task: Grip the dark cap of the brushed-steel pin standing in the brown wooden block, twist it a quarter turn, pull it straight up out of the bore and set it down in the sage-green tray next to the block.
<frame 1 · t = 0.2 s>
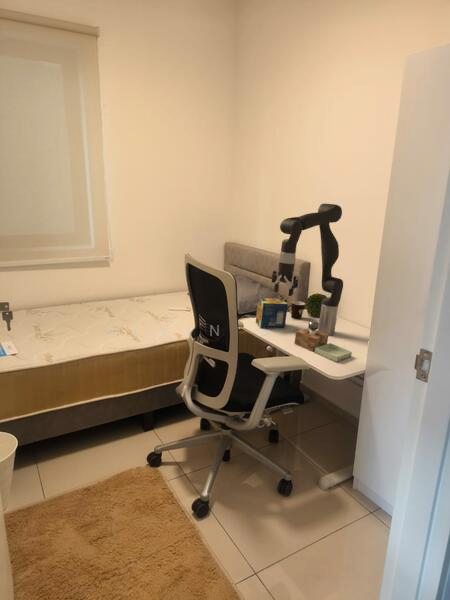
hand: (283, 293, 191), 29 cm above the table, fingers open, 8 cm apart
brown wooden block: (310, 345, 206), on the table
protein box: (269, 325, 232), on the table
sage tray: (332, 354, 196), on the table
coffee mug: (293, 317, 251), on the table
steel pin: (312, 334, 204), in the brown wooden block
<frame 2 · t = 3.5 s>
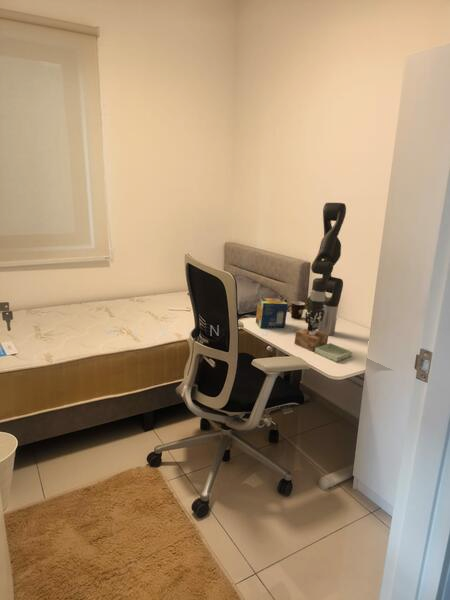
hand: (312, 329, 204), 9 cm above the table, fingers closed on steel pin, 5 cm apart
steel pin: (312, 334, 204), in the brown wooden block, touching gripper
everything else where it was.
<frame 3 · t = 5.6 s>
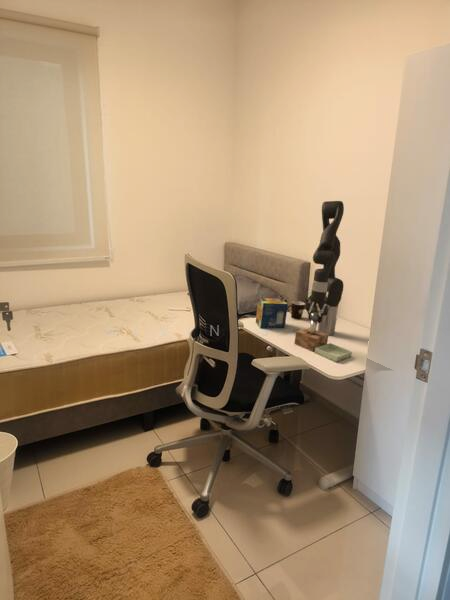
hand: (314, 320, 202), 14 cm above the table, fingers closed on steel pin, 5 cm apart
steel pin: (313, 325, 203), point 11 cm above the table, touching gripper
everything else where it was.
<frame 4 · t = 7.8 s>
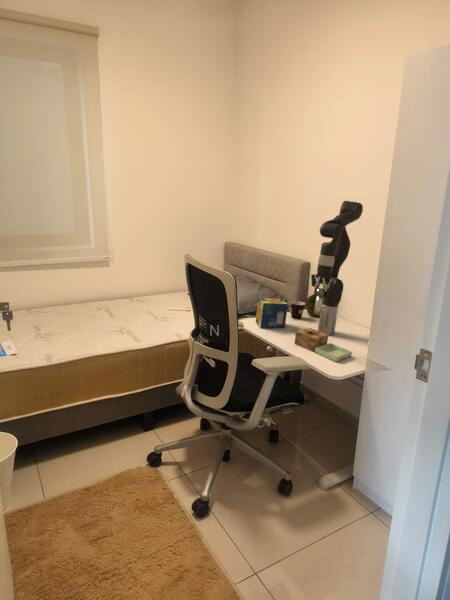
hand: (320, 296, 197), 27 cm above the table, fingers closed on steel pin, 5 cm apart
steel pin: (319, 301, 198), point 25 cm above the table, touching gripper
everything else where it was.
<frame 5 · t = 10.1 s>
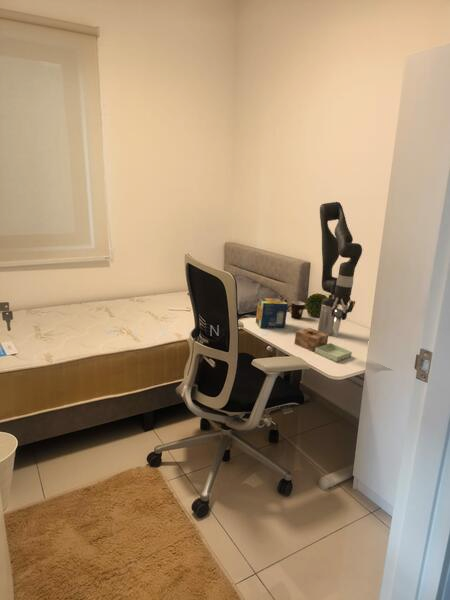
hand: (338, 317, 191), 20 cm above the table, fingers closed on steel pin, 5 cm apart
steel pin: (336, 322, 191), point 17 cm above the table, touching gripper
everything else where it was.
when the fingers open (11 cm above the table, at t = 12.1 s): steel pin drops 1 cm, resting on sage tray.
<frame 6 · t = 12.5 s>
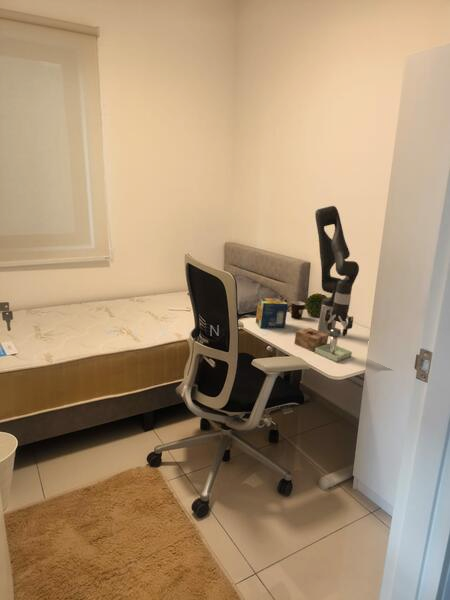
hand: (336, 332, 193), 12 cm above the table, fingers open, 8 cm apart
steel pin: (333, 341, 194), in the sage tray, point 7 cm above the table
everything else where it was.
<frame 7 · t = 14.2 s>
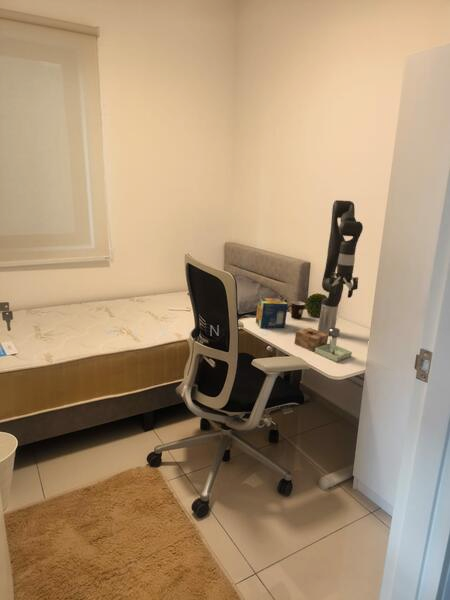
hand: (341, 295, 191), 30 cm above the table, fingers open, 8 cm apart
nothing on the table moved.
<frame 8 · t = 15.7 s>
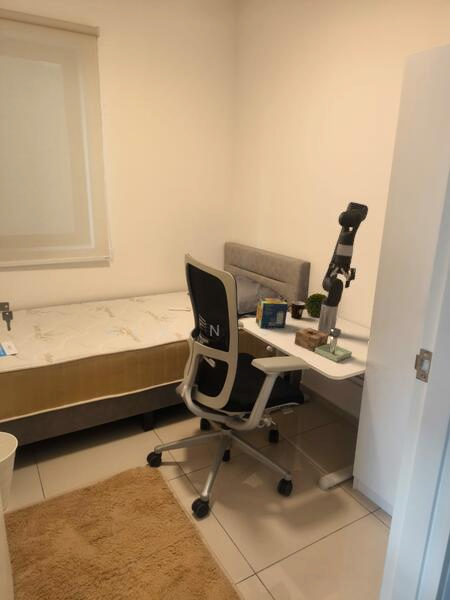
hand: (339, 285, 194), 34 cm above the table, fingers open, 8 cm apart
nothing on the table moved.
at the end: steel pin inside the target area on the sage tray (1.0 cm from its centre), point 7.3 cm above the sage tray's base; steel pin moved 13.9 cm from its start; the gripper is holding nothing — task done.
